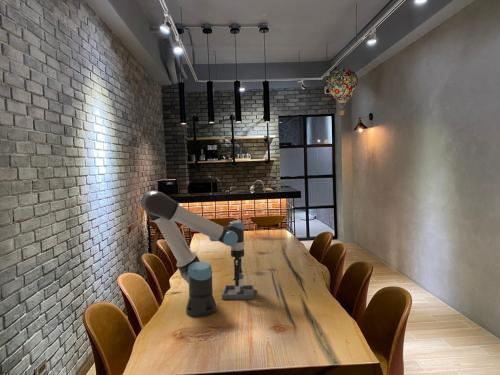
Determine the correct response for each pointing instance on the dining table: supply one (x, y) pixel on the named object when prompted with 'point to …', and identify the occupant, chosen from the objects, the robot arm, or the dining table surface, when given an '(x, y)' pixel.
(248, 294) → the tray
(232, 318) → the dining table surface
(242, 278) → the shaker
